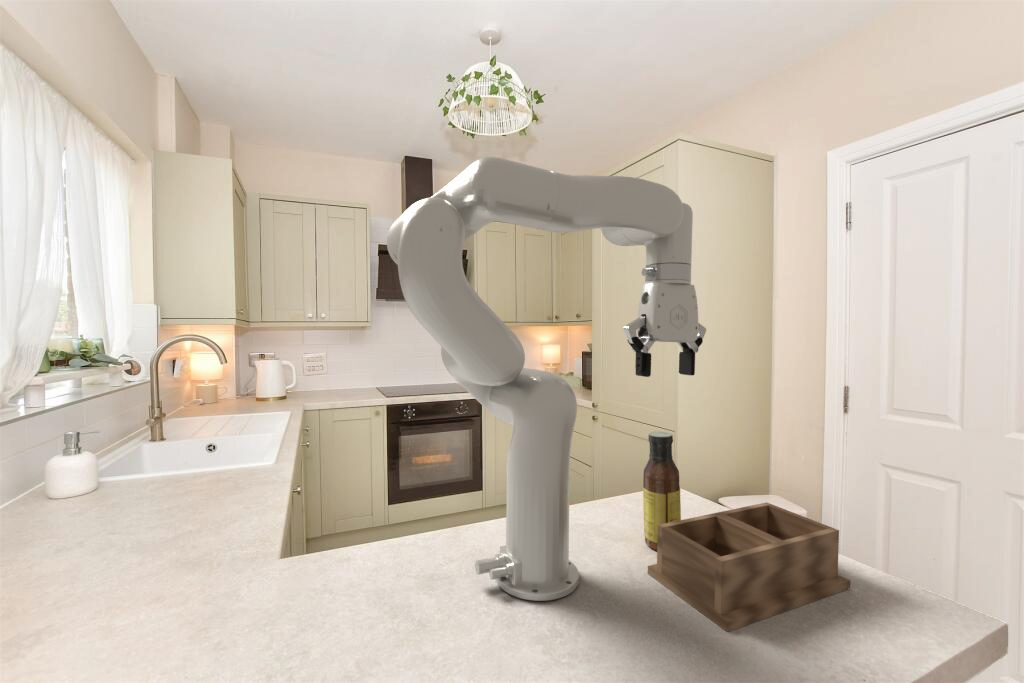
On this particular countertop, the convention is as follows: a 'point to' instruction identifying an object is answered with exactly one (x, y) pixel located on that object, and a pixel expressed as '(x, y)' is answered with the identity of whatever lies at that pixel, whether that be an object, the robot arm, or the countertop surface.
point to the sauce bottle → (660, 487)
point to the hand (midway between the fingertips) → (665, 375)
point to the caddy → (748, 563)
